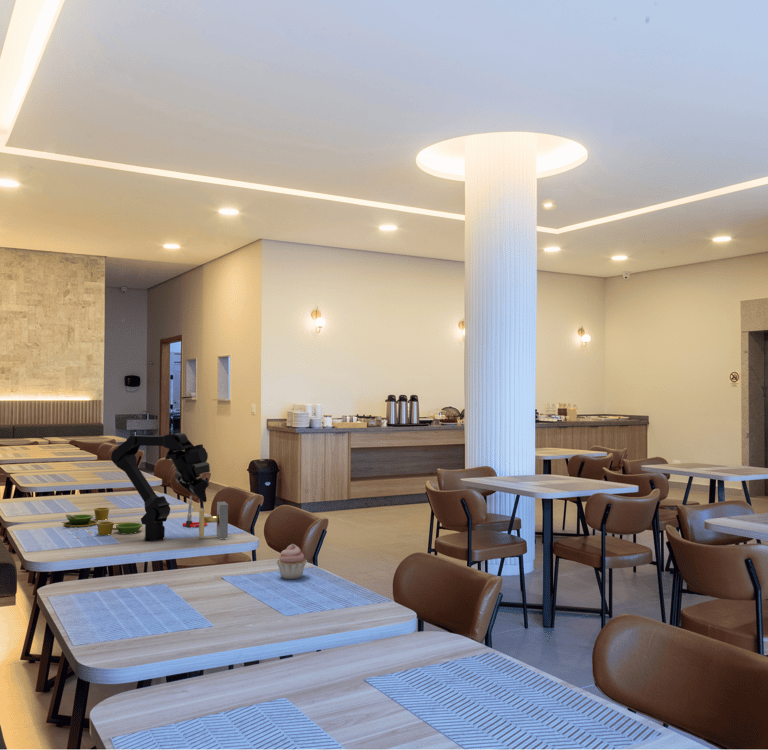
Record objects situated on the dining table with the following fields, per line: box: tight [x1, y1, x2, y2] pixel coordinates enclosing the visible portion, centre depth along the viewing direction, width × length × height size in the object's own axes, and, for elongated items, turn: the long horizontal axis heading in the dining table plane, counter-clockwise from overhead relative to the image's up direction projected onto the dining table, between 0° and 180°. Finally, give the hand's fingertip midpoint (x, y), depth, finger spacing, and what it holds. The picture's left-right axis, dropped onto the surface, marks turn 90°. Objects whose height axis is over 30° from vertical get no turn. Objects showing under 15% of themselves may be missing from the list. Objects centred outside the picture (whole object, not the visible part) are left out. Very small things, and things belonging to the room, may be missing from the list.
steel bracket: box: [216, 501, 229, 539], centre depth 272 cm, size 3×8×13 cm, turn 21°
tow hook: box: [182, 495, 208, 529], centre depth 296 cm, size 8×13×9 cm
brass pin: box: [198, 507, 219, 538], centre depth 271 cm, size 10×6×10 cm, turn 111°
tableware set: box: [61, 507, 143, 539], centre depth 290 cm, size 41×28×6 cm
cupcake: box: [276, 543, 308, 580], centre depth 214 cm, size 9×9×10 cm
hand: (200, 498), depth 272 cm, fingers open, 9 cm apart
